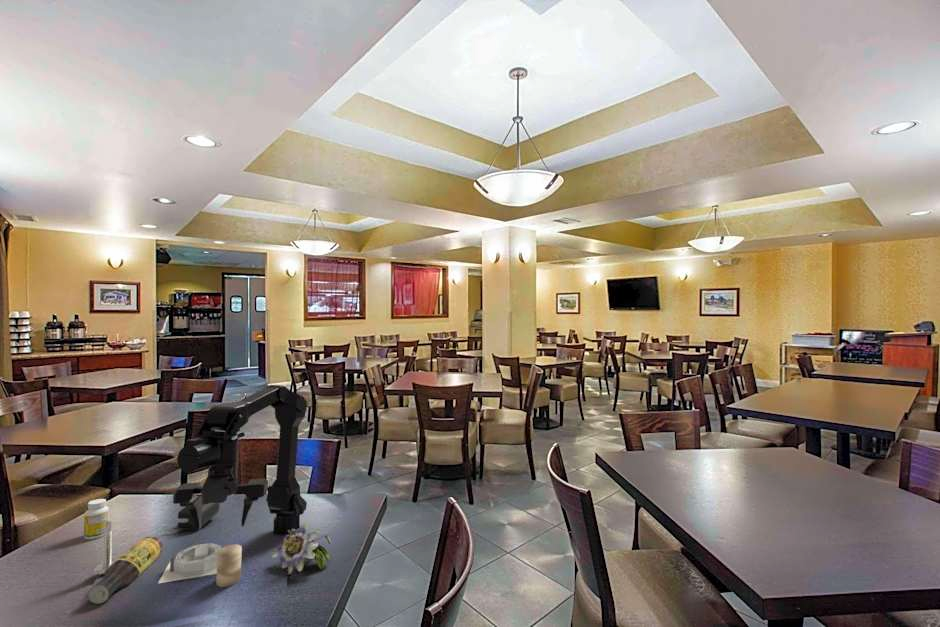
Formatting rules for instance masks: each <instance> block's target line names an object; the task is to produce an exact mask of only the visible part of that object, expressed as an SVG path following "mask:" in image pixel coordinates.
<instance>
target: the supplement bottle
mask: <svg viewBox="0 0 940 627" xmlns="http://www.w3.org/2000/svg"><path fill="white" fill-rule="evenodd" d="M87 508H88V509H87V510H86V511H84V518H83V538H84V539H86V540H96V539H99V537H100V538H103V536H104V535H103V534H104V523H105V522H107V521H110V519H109V516H110V511H109V510H110V509H109V507H108V506H107V499H106V498H98V499H93V500H89V502H87ZM95 538H96V539H95Z"/></svg>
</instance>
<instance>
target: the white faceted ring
mask: <svg viewBox="0 0 940 627" xmlns="http://www.w3.org/2000/svg"><path fill="white" fill-rule="evenodd" d="M222 547H223V546H222V545H220V544H215V543H212V542H209V543H203V544H202V543H201V544H195V545H192V546H189V547H187V548H186V549H185V548H184V549H182V550H181V551H179V552H178V553H177V554H174V555H171V557H170V559H169V560H170V561H169V563H170V572H172V571H174V574H177V575H180V576H182V577H189V576H195V575H201V574H205V573H206V572H208V571H210V570H212V569H214V568H216V567H217V552H218V550H219V549H221V548H222ZM200 558H204V559H201V560H194V559H200ZM192 560H194V561H192Z"/></svg>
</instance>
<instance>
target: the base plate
mask: <svg viewBox="0 0 940 627" xmlns="http://www.w3.org/2000/svg"><path fill="white" fill-rule="evenodd" d="M201 559H204V558H200V559H194V560H201ZM194 560H192V561H194ZM212 575H217V567H216V568H214V569H212V570H210V571H208V572H206V573H205V574H201V575H195V576H189V577H182V576H180V575H177V574H174V571H172V572H170V562H169V563H168V564H167V566H166V568H165V570H164V572H163V573H162V575H161V577H160V578H159V580H158V582H157V584H158V585H160V584H164V583H169V582H170V583H171V582H176V581H181V580H188V579H193V578H200V577H207V576H212Z"/></svg>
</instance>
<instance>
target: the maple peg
mask: <svg viewBox="0 0 940 627" xmlns="http://www.w3.org/2000/svg"><path fill="white" fill-rule="evenodd" d="M242 552H243V547H242V545H240V544H237V543H235V544H229V545H225V546H222V548H221V549H219V550H218V552H217V574H216V582H215V584H216V586H217V587H221V588H224V587H225V588H227V587H230V586H234V585H236V584H237V583H238V582H240V581H241V579H242Z"/></svg>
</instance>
